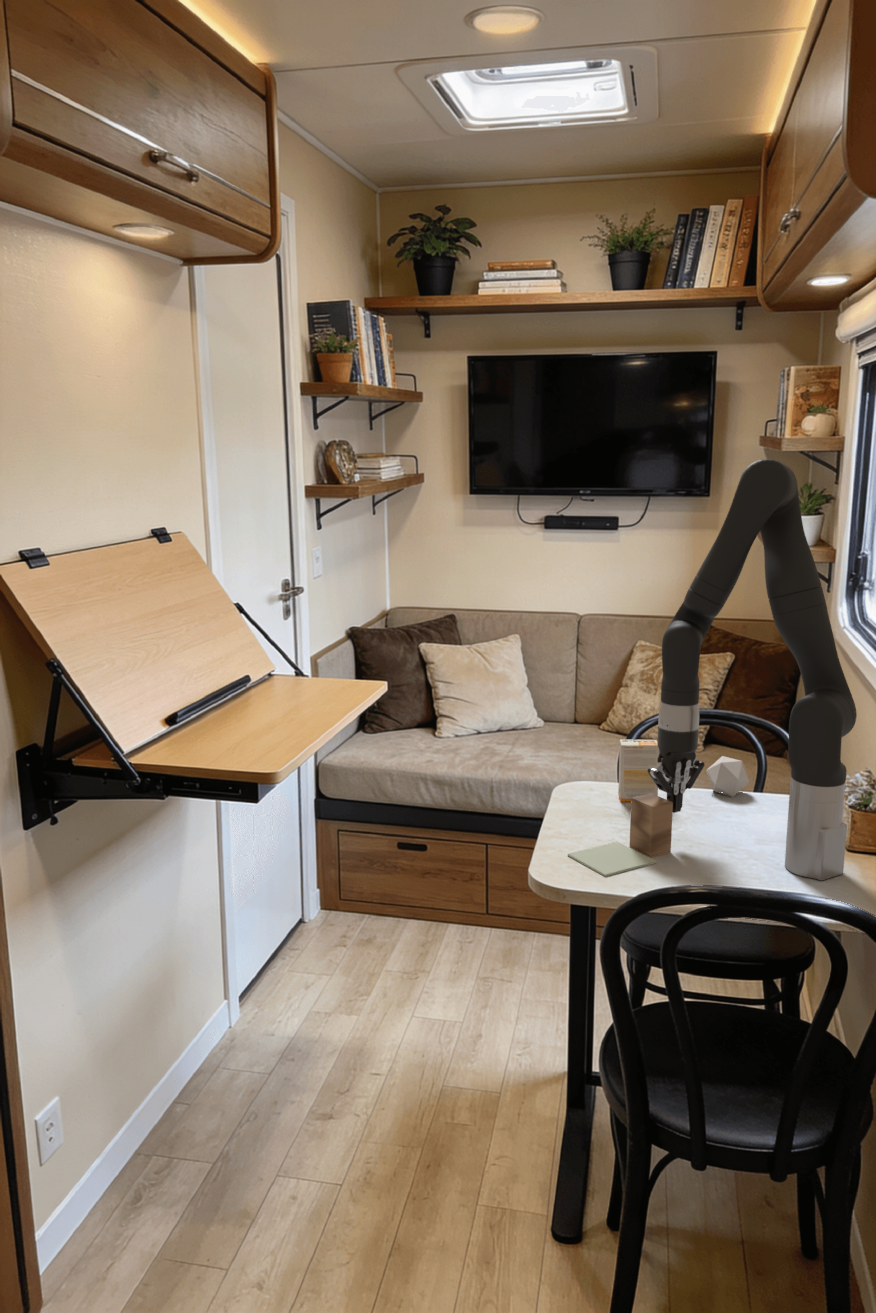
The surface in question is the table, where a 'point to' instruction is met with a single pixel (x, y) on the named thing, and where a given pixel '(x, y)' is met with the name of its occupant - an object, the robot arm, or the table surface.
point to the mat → (611, 858)
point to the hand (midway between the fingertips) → (674, 810)
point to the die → (727, 776)
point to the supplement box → (636, 768)
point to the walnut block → (651, 824)
